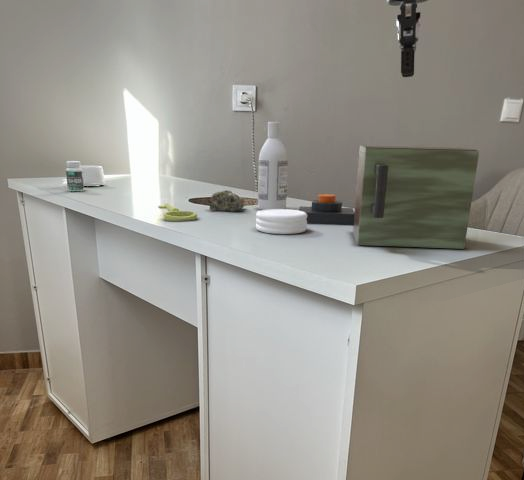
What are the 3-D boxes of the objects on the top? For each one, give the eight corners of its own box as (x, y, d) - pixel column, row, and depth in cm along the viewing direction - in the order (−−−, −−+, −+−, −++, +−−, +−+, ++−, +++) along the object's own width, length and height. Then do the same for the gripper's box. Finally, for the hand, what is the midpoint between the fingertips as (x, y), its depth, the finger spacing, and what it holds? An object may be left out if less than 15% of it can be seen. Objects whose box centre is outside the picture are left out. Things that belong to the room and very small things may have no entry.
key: (167, 212, 128) (167, 203, 127) (201, 219, 120) (201, 209, 119) (141, 215, 123) (140, 205, 123) (174, 222, 115) (174, 212, 115)
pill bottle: (66, 191, 164) (63, 161, 161) (68, 190, 169) (65, 160, 165) (83, 191, 165) (80, 162, 162) (85, 190, 169) (82, 161, 166)
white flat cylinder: (317, 231, 108) (318, 213, 107) (277, 236, 103) (277, 217, 101) (284, 224, 116) (285, 207, 114) (245, 228, 110) (246, 210, 109)
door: (472, 255, 90) (489, 152, 84) (360, 251, 91) (368, 149, 85) (462, 247, 95) (477, 150, 90) (357, 243, 97) (365, 148, 91)
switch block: (351, 217, 127) (353, 199, 125) (354, 224, 117) (356, 205, 116) (299, 216, 128) (299, 198, 126) (297, 222, 118) (298, 203, 117)
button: (334, 202, 123) (335, 194, 122) (335, 204, 119) (335, 196, 119) (318, 202, 123) (318, 194, 122) (318, 204, 120) (319, 195, 119)
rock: (215, 207, 139) (215, 188, 137) (246, 208, 138) (246, 189, 136) (208, 211, 132) (208, 191, 131) (240, 212, 131) (240, 192, 130)
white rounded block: (111, 185, 183) (110, 166, 181) (87, 187, 176) (85, 167, 174) (88, 183, 190) (86, 164, 187) (64, 185, 182) (61, 165, 180)
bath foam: (286, 207, 140) (289, 122, 133) (285, 211, 134) (289, 122, 127) (258, 207, 141) (260, 121, 133) (257, 210, 134) (258, 121, 127)
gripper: (434, -45, 87) (430, 71, 93) (431, -25, 99) (428, 75, 105) (385, -37, 89) (384, 75, 95) (388, -19, 101) (388, 79, 107)
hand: (407, 75), depth 100 cm, fingers open, 8 cm apart
